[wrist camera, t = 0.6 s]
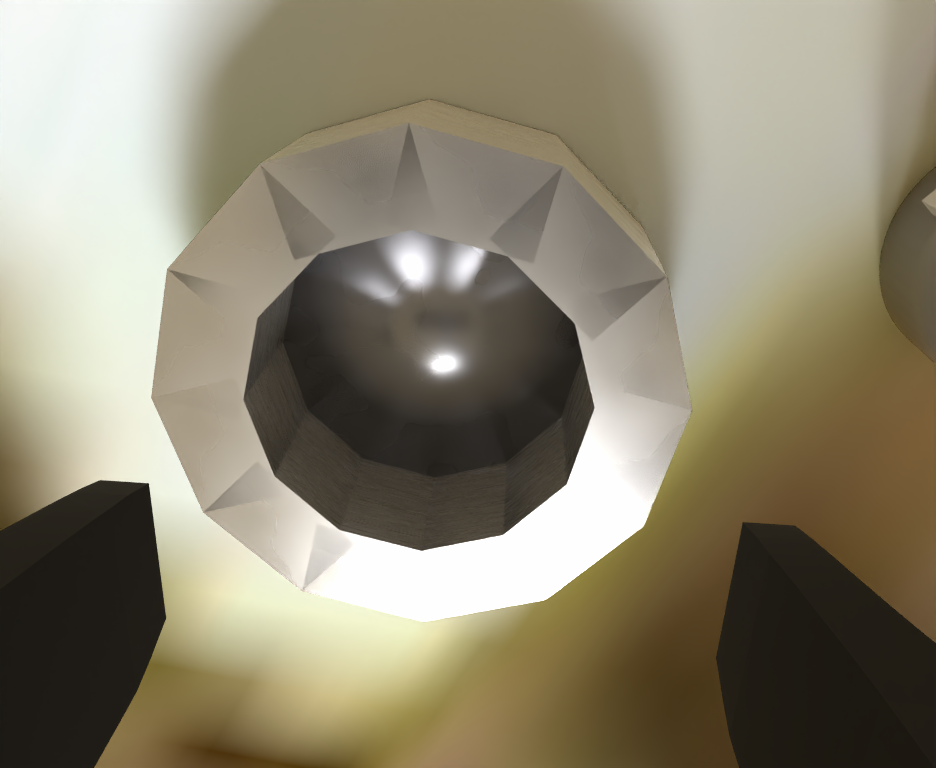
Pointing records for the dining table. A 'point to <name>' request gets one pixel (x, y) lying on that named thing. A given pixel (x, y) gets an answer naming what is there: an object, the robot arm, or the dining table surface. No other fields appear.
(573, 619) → the dining table surface
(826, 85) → the dining table surface
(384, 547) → the faceted ring
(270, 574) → the dining table surface
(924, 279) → the cap
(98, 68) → the dining table surface
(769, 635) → the robot arm
